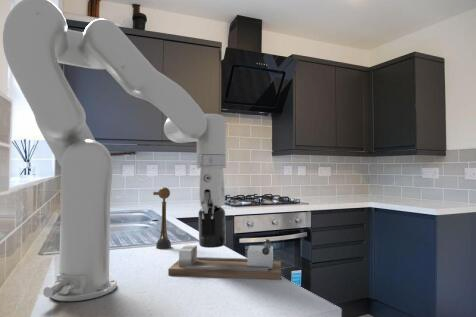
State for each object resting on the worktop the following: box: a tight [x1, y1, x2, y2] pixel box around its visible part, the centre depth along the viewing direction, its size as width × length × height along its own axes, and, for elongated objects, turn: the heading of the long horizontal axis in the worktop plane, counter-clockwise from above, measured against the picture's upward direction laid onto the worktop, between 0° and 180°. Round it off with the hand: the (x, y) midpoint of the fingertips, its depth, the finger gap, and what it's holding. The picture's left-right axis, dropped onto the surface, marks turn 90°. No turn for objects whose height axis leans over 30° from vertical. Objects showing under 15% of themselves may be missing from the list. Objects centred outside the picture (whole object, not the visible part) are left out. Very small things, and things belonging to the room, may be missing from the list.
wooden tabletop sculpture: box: [153, 186, 172, 250], centre depth 107 cm, size 6×5×20 cm
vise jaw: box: [246, 239, 274, 269], centre depth 80 cm, size 11×6×5 cm, turn 173°
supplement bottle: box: [198, 197, 227, 249], centre depth 82 cm, size 7×7×12 cm
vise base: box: [167, 244, 282, 280], centre depth 81 cm, size 10×27×6 cm, turn 83°
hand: (211, 231), depth 82 cm, fingers closed on supplement bottle, 6 cm apart
